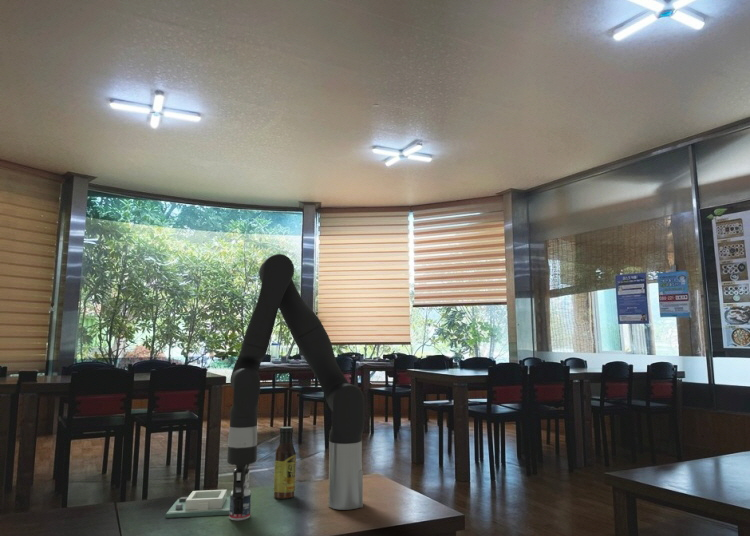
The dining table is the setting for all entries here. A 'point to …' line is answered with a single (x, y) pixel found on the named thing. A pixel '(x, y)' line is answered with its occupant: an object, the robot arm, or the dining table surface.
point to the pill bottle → (245, 505)
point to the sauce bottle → (285, 465)
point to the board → (201, 504)
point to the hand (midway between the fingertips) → (240, 508)
